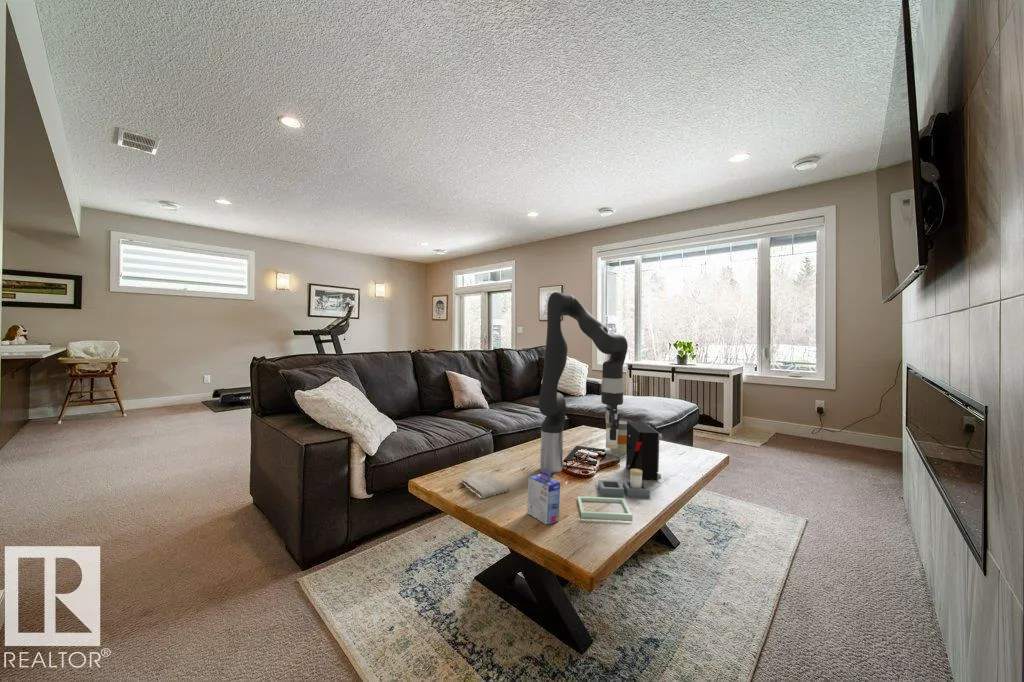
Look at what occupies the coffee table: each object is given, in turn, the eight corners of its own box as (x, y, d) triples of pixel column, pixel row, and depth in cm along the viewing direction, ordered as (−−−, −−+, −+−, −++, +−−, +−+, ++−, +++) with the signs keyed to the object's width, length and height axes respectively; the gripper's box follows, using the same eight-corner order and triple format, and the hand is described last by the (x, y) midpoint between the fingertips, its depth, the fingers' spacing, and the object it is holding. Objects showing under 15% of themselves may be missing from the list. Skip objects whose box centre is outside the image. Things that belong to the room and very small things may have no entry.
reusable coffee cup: (602, 451, 191) (602, 421, 190) (613, 445, 200) (613, 417, 200) (626, 456, 183) (626, 425, 182) (636, 450, 192) (637, 421, 192)
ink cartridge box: (560, 520, 120) (561, 475, 120) (547, 526, 117) (548, 479, 116) (539, 508, 128) (540, 465, 128) (526, 513, 125) (527, 469, 124)
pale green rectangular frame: (581, 518, 122) (581, 512, 122) (577, 501, 134) (577, 496, 134) (632, 521, 121) (632, 514, 121) (623, 504, 133) (624, 498, 132)
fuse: (606, 448, 135) (607, 420, 135) (604, 445, 139) (604, 417, 139) (618, 449, 135) (619, 420, 135) (616, 445, 139) (616, 418, 139)
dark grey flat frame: (563, 466, 170) (563, 459, 170) (575, 451, 191) (575, 445, 191) (595, 471, 164) (595, 464, 164) (604, 455, 186) (604, 449, 185)
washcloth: (484, 477, 156) (484, 469, 156) (510, 493, 141) (510, 485, 141) (458, 483, 149) (458, 476, 149) (482, 501, 134) (482, 492, 134)
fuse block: (599, 499, 136) (599, 474, 135) (594, 487, 147) (595, 463, 146) (651, 502, 134) (651, 476, 134) (642, 489, 145) (643, 465, 145)
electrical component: (662, 483, 152) (663, 433, 151) (636, 482, 152) (637, 432, 151) (647, 467, 169) (648, 422, 169) (624, 466, 169) (625, 421, 169)
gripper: (598, 387, 144) (597, 432, 144) (605, 393, 130) (604, 443, 130) (618, 387, 143) (617, 433, 144) (628, 393, 129) (627, 444, 130)
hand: (611, 438), depth 137 cm, fingers closed on fuse, 4 cm apart
